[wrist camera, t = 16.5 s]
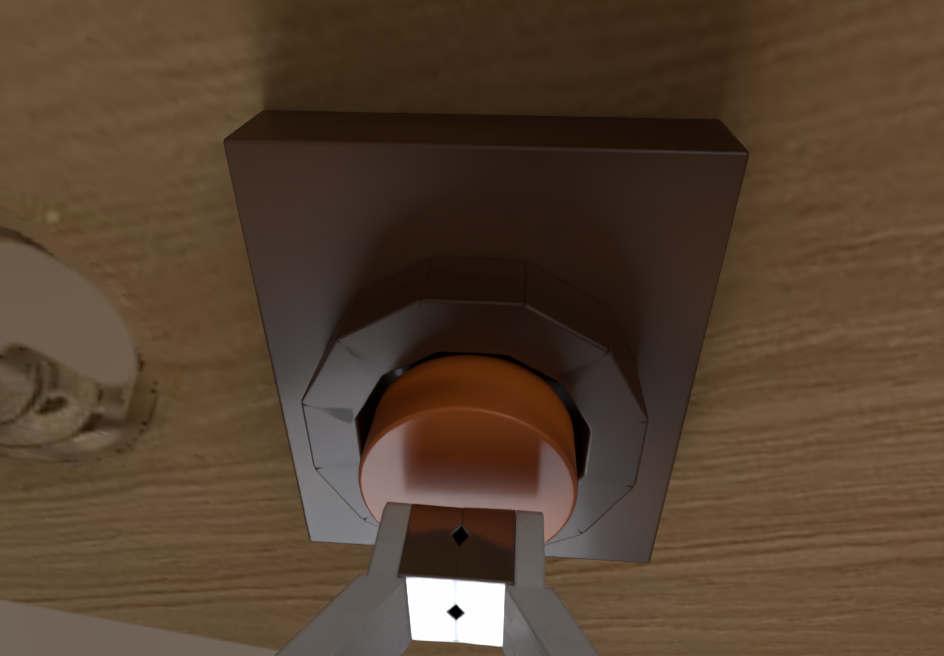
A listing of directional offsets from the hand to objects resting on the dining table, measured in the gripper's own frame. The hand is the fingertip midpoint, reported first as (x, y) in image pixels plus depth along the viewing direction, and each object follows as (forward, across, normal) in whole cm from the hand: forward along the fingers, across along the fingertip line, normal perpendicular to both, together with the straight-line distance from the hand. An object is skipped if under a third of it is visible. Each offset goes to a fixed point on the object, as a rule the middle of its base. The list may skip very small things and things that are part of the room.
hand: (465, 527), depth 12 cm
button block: (+6, 0, 0) cm, 6 cm away
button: (+2, 0, 0) cm, 2 cm away
